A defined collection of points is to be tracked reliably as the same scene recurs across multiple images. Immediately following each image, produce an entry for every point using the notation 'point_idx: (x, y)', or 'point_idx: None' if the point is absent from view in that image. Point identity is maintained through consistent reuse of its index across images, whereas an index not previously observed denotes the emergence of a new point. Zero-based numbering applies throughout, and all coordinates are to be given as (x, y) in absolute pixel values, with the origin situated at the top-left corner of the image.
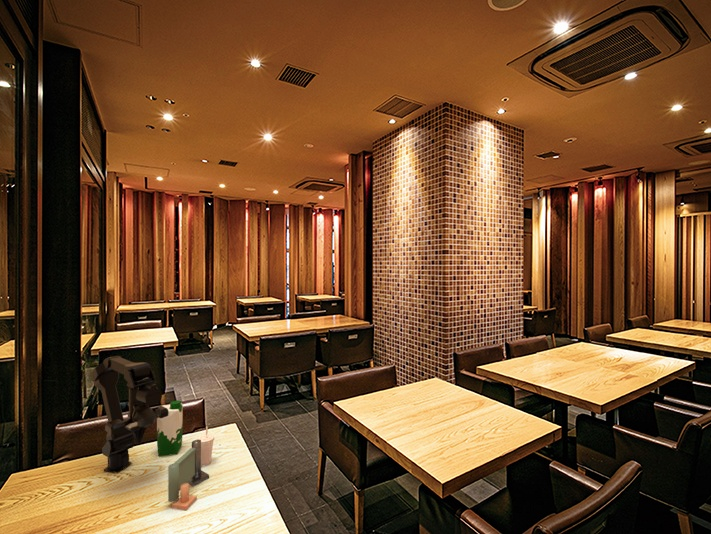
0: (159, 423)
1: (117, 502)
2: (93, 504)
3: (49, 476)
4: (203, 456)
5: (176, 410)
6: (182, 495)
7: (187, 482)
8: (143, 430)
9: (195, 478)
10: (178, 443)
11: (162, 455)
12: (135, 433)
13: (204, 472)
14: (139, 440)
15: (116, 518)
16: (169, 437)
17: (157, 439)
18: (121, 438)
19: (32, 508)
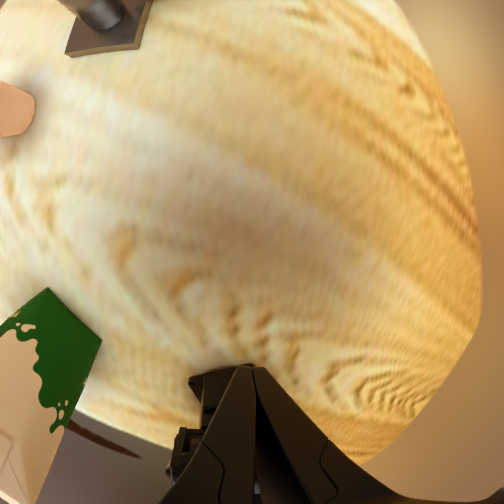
0: (38, 449)
1: (371, 163)
2: (405, 237)
3: None
4: (10, 88)
5: None
6: None
7: (144, 22)
8: (215, 489)
9: (122, 2)
10: (20, 311)
11: (88, 329)
12: (358, 474)
13: (77, 18)
14: (255, 386)
15: (412, 84)
16: (28, 352)
17: (76, 396)
18: (257, 484)
19: (437, 356)
